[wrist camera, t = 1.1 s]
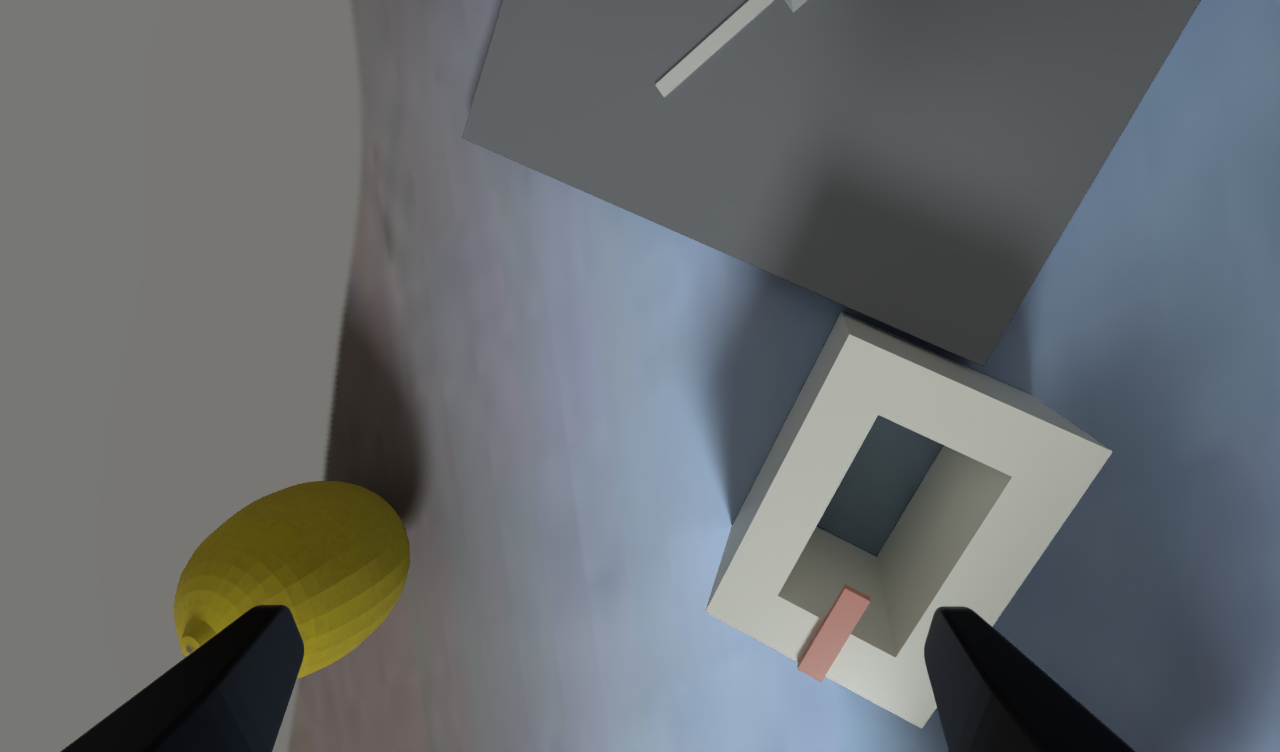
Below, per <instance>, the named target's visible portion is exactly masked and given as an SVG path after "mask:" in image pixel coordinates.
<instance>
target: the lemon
mask: <svg viewBox="0 0 1280 752" xmlns="http://www.w3.org/2000/svg"><path fill="white" fill-rule="evenodd" d="M409 565H410V551H409V541H408V537H407V533H406V529H405V527H404V525H403V523H402V521H401V519H400V517H399V515H398V514H397V513H396V512H395V510H394V509H393V508H392V507H391V505H390V504H389V503H387V502H386V501H385V500H384V499H383V498H381V497H380V496H379V495H377V494H376V493H374V492H372V491H370V490H368V489H366V488H364V487H362V486H359V485H354V484H350V483H346V482H341V481H318V482H308V483H303V484H298V485H295V486H291V487H288V488H285V489H283V490H280V491H277V492H275V493H272V494H270V495H267V496H265V497H262V498H261V499H258V500H257V501H254V502H253V503H251V504H249V505H248V506H246V507H244V508H243V509H241V510H240V511H239V512H237V513H236V514H234V515H233V516H232V517H231V518H230V519H228V520H227V521H226V522H225V523H223V524H222V525H221V526H220V527H219V528H217V530H215V531H214V532H213V533H212V534H210V535H209V536H208V537H207V538H206V539H205V540H204V541H203V542H202V543H201V544H200V546H199V547H198V548H197V549H196V550H195V552H194V553H193V555H192V557H191V559H190V560H189V562H188V564H187V565H186V567H185V569H184V570H183V572H182V574H181V577H180V580H179V583H178V587H177V591H176V595H175V602H174V619H175V625H176V630H177V634H178V637H179V639H180V646H181V650H182V652H183V653H184V655H185V656H186V657H187V656H188V655H190V654H191V653H192V652H194V651H195V650H196V649H198V648H199V647H200V646H202V645H203V644H204V643H206V642H207V641H208V640H210V639H211V638H212V637H214V636H215V635H216V634H218V633H219V632H220V631H221V630H223V629H224V628H225V627H227V626H228V625H229V624H231V623H232V622H233V621H235V620H236V619H237V618H239V617H240V616H241V615H243V614H244V613H245V612H247V611H248V610H250V609H251V608H253V607H255V606H258V605H285V606H286V607H288V608H289V609H290V611H291V613H292V615H293V618H294V620H295V622H296V625H297V627H298V630H299V632H300V635H301V637H302V640H303V643H304V657H303V661H302V665H301V668H300V670H299V673H298V676H297V679H298V678H301V677H303V676H306V675H308V674H310V673H313V672H315V671H317V670H320V669H322V668H324V667H326V666H328V665H330V664H332V663H333V662H335V661H337V660H339V659H340V658H342V657H343V656H345V655H346V654H348V653H349V652H351V651H352V650H353V649H354V648H356V647H357V646H358V645H359V644H360V643H361V642H363V641H364V640H365V639H366V638H367V637H368V636H369V635H370V634H371V633H372V632H373V631H374V630H376V629H377V628H378V627H379V625H380V624H381V623H382V622H383V621H384V620H385V619H386V617H387V616H388V615H389V613H390V612H391V610H392V608H393V607H394V605H395V603H396V601H397V600H398V598H399V596H400V594H401V593H402V590H403V588H404V586H405V583H406V578H407V574H408V569H409Z"/></svg>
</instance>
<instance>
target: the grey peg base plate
mask: <svg viewBox="0 0 1280 752" xmlns="http://www.w3.org/2000/svg"><path fill="white" fill-rule="evenodd" d="M1200 1H1201V0H503V3H502V6H501V9H500V13H499V16H498V19H497V23H496V26H495V29H494V33H493V36H492V39H491V43H490V46H489V49H488V53H487V56H486V59H485V63H484V66H483V69H482V73H481V76H480V79H479V83H478V86H477V89H476V93H475V96H474V99H473V103H472V106H471V109H470V113H469V116H468V119H467V122H466V126H465V129H464V132H463V136H462V138H463V139H465V140H468V141H470V142H472V143H475V144H477V145H479V146H481V147H484V148H486V149H488V150H491V151H493V152H495V153H497V154H500V155H502V156H504V157H507V158H509V159H511V160H513V161H516V162H518V163H520V164H523V165H525V166H527V167H529V168H532V169H534V170H536V171H538V172H541V173H543V174H545V175H548V176H550V177H552V178H554V179H557V180H559V181H561V182H564V183H566V184H568V185H570V186H573V187H575V188H577V189H580V190H582V191H584V192H586V193H589V194H591V195H593V196H596V197H598V198H600V199H602V200H605V201H607V202H609V203H612V204H614V205H616V206H618V207H621V208H623V209H625V210H628V211H630V212H632V213H634V214H637V215H639V216H641V217H643V218H646V219H648V220H650V221H653V222H655V223H657V224H659V225H662V226H664V227H666V228H669V229H671V230H673V231H675V232H678V233H680V234H682V235H685V236H687V237H689V238H691V239H694V240H696V241H698V242H701V243H703V244H705V245H707V246H710V247H712V248H714V249H717V250H719V251H721V252H723V253H726V254H728V255H730V256H733V257H735V258H737V259H739V260H742V261H744V262H746V263H748V264H751V265H753V266H755V267H758V268H760V269H762V270H764V271H767V272H769V273H771V274H774V275H776V276H778V277H780V278H783V279H785V280H787V281H790V282H792V283H794V284H796V285H799V286H801V287H803V288H806V289H808V290H810V291H812V292H815V293H817V294H819V295H822V296H824V297H826V298H828V299H831V300H833V301H835V302H838V303H840V304H842V305H844V306H847V307H849V308H851V309H853V310H856V311H858V312H860V313H863V314H865V315H867V316H869V317H872V318H874V319H876V320H879V321H881V322H883V323H885V324H888V325H890V326H892V327H895V328H897V329H899V330H901V331H904V332H906V333H908V334H911V335H913V336H915V337H917V338H920V339H922V340H924V341H927V342H929V343H931V344H933V345H936V346H938V347H940V348H943V349H945V350H947V351H949V352H952V353H954V354H956V355H958V356H961V357H963V358H965V359H968V360H970V361H972V362H974V363H977V364H979V365H981V366H984V364H985V363H986V361H987V359H988V358H989V356H990V354H991V352H992V351H993V349H994V347H995V346H996V344H997V342H998V341H999V339H1000V337H1001V336H1002V334H1003V332H1004V331H1005V329H1006V327H1007V326H1008V324H1009V322H1010V321H1011V319H1012V317H1013V315H1014V314H1015V312H1016V310H1017V309H1018V307H1019V305H1020V304H1021V302H1022V300H1023V299H1024V297H1025V295H1026V294H1027V292H1028V290H1029V289H1030V287H1031V285H1032V284H1033V282H1034V280H1035V278H1036V277H1037V275H1038V273H1039V272H1040V270H1041V268H1042V267H1043V265H1044V263H1045V262H1046V260H1047V258H1048V257H1049V255H1050V253H1051V252H1052V250H1053V248H1054V246H1055V245H1056V243H1057V241H1058V240H1059V238H1060V236H1061V235H1062V233H1063V231H1064V230H1065V228H1066V226H1067V225H1068V223H1069V221H1070V220H1071V218H1072V216H1073V215H1074V213H1075V211H1076V209H1077V208H1078V206H1079V204H1080V203H1081V201H1082V199H1083V198H1084V196H1085V194H1086V193H1087V191H1088V189H1089V188H1090V186H1091V184H1092V183H1093V181H1094V179H1095V178H1096V176H1097V174H1098V172H1099V171H1100V169H1101V167H1102V166H1103V164H1104V162H1105V161H1106V159H1107V157H1108V156H1109V154H1110V152H1111V151H1112V149H1113V147H1114V146H1115V144H1116V142H1117V140H1118V139H1119V137H1120V135H1121V134H1122V132H1123V130H1124V129H1125V127H1126V125H1127V124H1128V122H1129V120H1130V119H1131V117H1132V115H1133V114H1134V112H1135V110H1136V109H1137V107H1138V105H1139V103H1140V102H1141V100H1142V98H1143V97H1144V95H1145V93H1146V92H1147V90H1148V88H1149V87H1150V85H1151V83H1152V82H1153V80H1154V78H1155V77H1156V75H1157V73H1158V72H1159V70H1160V68H1161V66H1162V65H1163V63H1164V61H1165V60H1166V58H1167V56H1168V55H1169V53H1170V51H1171V50H1172V48H1173V46H1174V45H1175V43H1176V41H1177V40H1178V38H1179V36H1180V35H1181V33H1182V31H1183V29H1184V28H1185V26H1186V24H1187V23H1188V21H1189V19H1190V18H1191V16H1192V14H1193V13H1194V11H1195V9H1196V8H1197V6H1198V4H1199V3H1200Z"/></svg>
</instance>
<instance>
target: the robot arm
mask: <svg viewBox="0 0 1280 752" xmlns="http://www.w3.org/2000/svg"><path fill="white" fill-rule="evenodd" d="M303 657H304V643H303V640H302V637H301V635H300V632H299V630H298V627H297V625H296V622H295V620H294V618H293V615H292V613H291V611H290V609H289V608H288V607H286V606H285V605H258V606H255V607H253V608H251V609H250V610H248V611H247V612H245V613H244V614H243V615H241V616H240V617H239V618H237V619H236V620H235V621H233V622H232V623H231V624H229V625H228V626H227V627H225V628H224V629H223V630H221V631H220V632H219V633H218V634H216V635H215V636H214V637H212V638H211V639H210V640H208V641H207V642H206V643H204V644H203V645H202V646H200V647H199V648H198V649H196V650H195V651H194V652H192V653H191V654H190V655H188V656H187V657H186V658H184V659H183V660H182V661H180V662H179V663H178V664H176V665H175V666H174V667H172V668H171V669H170V670H168V671H167V672H166V673H164V674H163V675H162V676H160V677H159V678H158V679H156V680H155V681H154V682H152V683H151V684H150V685H148V686H147V687H146V688H144V689H143V690H142V691H141V692H139V693H138V694H136V695H135V696H134V697H132V698H131V699H130V700H129V701H127V702H126V703H125V704H123V705H122V706H120V707H119V708H118V709H116V710H115V711H114V712H112V713H111V714H110V715H109V716H107V717H106V718H105V719H103V720H102V721H101V722H99V723H98V724H97V725H95V726H94V727H93V728H91V729H90V730H89V731H87V732H86V733H85V734H83V735H82V736H81V737H79V738H78V739H77V740H75V741H74V742H73V743H71V744H70V745H69V746H67V747H66V748H65V749H63V750H62V751H61V752H272V750H273V747H274V744H275V741H276V738H277V735H278V732H279V729H280V726H281V724H282V721H283V718H284V714H285V712H286V709H287V706H288V703H289V700H290V697H291V694H292V691H293V688H294V685H295V682H296V679H297V676H298V673H299V670H300V668H301V665H302V661H303ZM924 659H925V664H926V668H927V672H928V676H929V679H930V683H931V687H932V691H933V694H934V698H935V702H936V705H937V709H938V713H939V717H940V720H941V724H942V728H943V732H944V735H945V739H946V743H947V746H948V750H949V752H1136V751H1134V750H1133V749H1132V748H1131V747H1130V746H1129V745H1127V744H1126V743H1125V742H1124V741H1123V740H1122V739H1121V738H1119V737H1118V736H1117V735H1116V734H1115V733H1114V732H1113V731H1111V730H1110V729H1109V728H1108V727H1107V726H1106V725H1104V724H1103V723H1102V722H1101V721H1100V720H1099V719H1098V718H1096V717H1095V716H1094V715H1093V714H1092V713H1091V712H1090V711H1088V710H1087V709H1086V708H1085V707H1084V706H1083V705H1082V704H1080V703H1079V702H1078V701H1077V700H1076V699H1075V698H1073V697H1072V696H1071V695H1070V694H1069V693H1068V692H1067V691H1065V690H1064V689H1063V688H1062V687H1061V686H1060V685H1059V684H1057V683H1056V682H1055V681H1054V680H1053V679H1052V678H1050V677H1049V676H1048V675H1047V674H1046V673H1045V672H1044V671H1042V670H1041V669H1040V668H1039V667H1038V666H1037V665H1036V664H1034V663H1033V662H1032V661H1031V660H1030V659H1029V658H1028V657H1026V656H1025V655H1024V654H1023V653H1022V652H1021V651H1019V650H1018V649H1017V648H1016V647H1015V646H1014V645H1013V644H1011V643H1010V642H1009V641H1008V640H1007V639H1006V638H1005V637H1003V636H1002V635H1001V634H1000V633H999V632H998V631H996V630H995V629H994V628H993V627H992V626H991V625H990V624H988V623H987V622H986V621H985V620H984V619H983V618H982V617H980V616H979V615H978V614H977V613H976V612H975V611H973V610H972V609H970V608H968V607H962V606H942V607H939V608H937V609H936V610H935V612H934V615H933V618H932V621H931V625H930V628H929V631H928V635H927V638H926V641H925V645H924Z"/></svg>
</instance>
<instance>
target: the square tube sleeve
mask: <svg viewBox="0 0 1280 752" xmlns="http://www.w3.org/2000/svg"><path fill="white" fill-rule="evenodd" d="M878 415H880V416H882V417H884V418H886V419H888V420H890V421H893V422H895V423H897V424H899V425H901V426H903V427H906V428H908V429H910V430H912V431H914V432H916V433H919V434H921V435H923V436H925V437H927V438H929V439H931V440H934V441H936V442H938V443H940V444H942V445H943V447H942V449H941V450H940V452H939V454H938V455H937V457H936V459H935V460H934V462H933V464H932V465H931V467H930V469H929V470H928V472H927V474H926V475H925V477H924V479H923V480H922V482H921V484H920V485H919V487H918V489H917V490H916V492H915V494H914V495H913V497H912V499H911V500H910V502H909V504H908V505H907V507H906V509H905V510H904V512H903V514H902V516H901V517H900V519H899V521H898V522H897V524H896V526H895V527H894V529H893V531H892V532H891V534H890V536H889V537H888V539H887V541H886V542H885V544H884V546H883V547H882V549H881V551H880V552H879V554H878V556H877V557H876V556H874V555H872V554H870V553H868V552H866V551H864V550H862V549H860V548H858V547H856V546H854V545H852V544H850V543H848V542H846V541H844V540H842V539H840V538H838V537H836V536H834V535H832V534H830V533H828V532H826V531H824V530H822V529H820V528H818V527H816V526H817V524H818V522H819V521H820V519H821V517H822V515H823V513H824V512H825V510H826V508H827V506H828V504H829V503H830V501H831V499H832V497H833V495H834V494H835V492H836V490H837V488H838V486H839V485H840V483H841V481H842V479H843V477H844V476H845V474H846V472H847V470H848V468H849V467H850V465H851V463H852V461H853V459H854V458H855V456H856V454H857V452H858V450H859V449H860V447H861V445H862V443H863V441H864V440H865V438H866V436H867V434H868V432H869V431H870V429H871V427H872V425H873V423H874V422H875V420H876V418H877V416H878ZM1112 452H1113V451H1111V450H1110V449H1109V448H1107V447H1106V446H1104V445H1103V444H1101V443H1100V442H1098V441H1097V440H1096V439H1094V438H1093V437H1091V436H1090V435H1088V434H1087V433H1086V432H1084V431H1083V430H1081V429H1080V428H1078V427H1077V426H1075V425H1074V424H1073V423H1071V422H1070V421H1068V420H1067V419H1065V418H1064V417H1062V416H1061V415H1060V414H1058V413H1057V412H1055V411H1054V410H1052V409H1051V408H1050V407H1048V406H1047V405H1045V404H1044V403H1042V402H1041V401H1039V400H1038V399H1037V398H1035V397H1034V396H1032V395H1030V394H1028V393H1025V392H1023V391H1021V390H1018V389H1016V388H1014V387H1012V386H1009V385H1007V384H1005V383H1003V382H1000V381H998V380H996V379H993V378H991V377H989V376H987V375H984V374H982V373H980V372H978V371H975V370H973V369H971V368H968V367H966V366H964V365H962V364H959V363H957V362H955V361H953V360H950V359H948V358H946V357H943V356H941V355H939V354H937V353H934V352H932V351H930V350H928V349H925V348H923V347H921V346H918V345H916V344H914V343H912V342H909V341H907V340H905V339H903V338H900V337H898V336H896V335H893V334H891V333H889V332H887V331H884V330H882V329H880V328H878V327H875V326H873V325H871V324H868V323H866V322H864V321H862V320H859V319H857V318H855V317H853V316H850V315H848V314H846V313H843V312H841V313H840V315H839V317H838V319H837V321H836V323H835V325H834V327H833V329H832V331H831V333H830V335H829V337H828V339H827V341H826V343H825V345H824V347H823V349H822V351H821V352H820V354H819V356H818V358H817V360H816V362H815V364H814V366H813V368H812V370H811V372H810V374H809V376H808V378H807V380H806V382H805V384H804V386H803V388H802V390H801V392H800V394H799V396H798V398H797V400H796V402H795V403H794V405H793V407H792V409H791V411H790V413H789V415H788V417H787V419H786V421H785V423H784V425H783V427H782V429H781V431H780V433H779V435H778V437H777V439H776V441H775V443H774V445H773V447H772V449H771V451H770V453H769V454H768V456H767V458H766V460H765V462H764V464H763V466H762V468H761V470H760V472H759V474H758V476H757V478H756V480H755V482H754V484H753V486H752V488H751V490H750V492H749V494H748V496H747V498H746V500H745V502H744V504H743V505H742V507H741V509H740V511H739V513H738V515H737V517H736V519H735V521H734V523H733V525H732V527H731V530H730V534H729V537H728V540H727V543H726V546H725V550H724V553H723V556H722V559H721V563H720V566H719V569H718V572H717V575H716V579H715V582H714V585H713V588H712V592H711V595H710V598H709V601H708V604H707V608H706V611H705V612H706V613H708V614H710V615H712V616H714V617H716V618H718V619H719V620H721V621H723V622H725V623H727V624H729V625H731V626H732V627H734V628H736V629H738V630H740V631H742V632H743V633H745V634H747V635H749V636H751V637H753V638H755V639H756V640H758V641H760V642H762V643H764V644H766V645H768V646H769V647H771V648H773V649H775V650H777V651H779V652H780V653H782V654H784V655H786V656H788V657H790V658H792V659H793V660H795V661H797V662H799V663H798V668H797V669H798V670H800V671H802V672H804V673H805V674H807V675H809V676H811V677H813V678H815V679H816V680H818V681H820V682H822V680H823V679H824V677H827V678H829V679H830V680H832V681H834V682H836V683H838V684H840V685H842V686H843V687H845V688H847V689H849V690H851V691H853V692H854V693H856V694H858V695H860V696H862V697H864V698H866V699H867V700H869V701H871V702H873V703H875V704H877V705H879V706H880V707H882V708H884V709H886V710H888V711H890V712H891V713H893V714H895V715H897V716H899V717H901V718H903V719H904V720H906V721H908V722H910V723H912V724H914V725H916V726H917V727H919V728H921V729H922V728H923V727H924V725H925V724H926V722H927V721H928V720H929V718H930V717H931V715H932V714H933V712H934V711H935V709H936V708H937V705H936V702H935V698H934V694H933V691H932V687H931V683H930V679H929V676H928V672H927V668H926V664H925V659H924V645H925V641H926V638H927V635H928V631H929V628H930V625H931V621H932V618H933V615H934V612H935V610H936V609H937V608H939V607H942V606H962V607H968V608H970V609H972V610H973V611H975V612H976V613H977V614H978V615H979V616H980V617H982V618H983V619H984V620H985V621H986V622H987V623H988V624H990V625H991V626H992V627H993V625H994V624H995V622H996V621H997V619H998V618H999V616H1000V615H1001V613H1002V612H1003V611H1004V609H1005V608H1006V606H1007V605H1008V603H1009V602H1010V600H1011V599H1012V598H1013V596H1014V595H1015V593H1016V592H1017V590H1018V589H1019V587H1020V586H1021V584H1022V583H1023V582H1024V580H1025V579H1026V577H1027V576H1028V574H1029V573H1030V571H1031V570H1032V568H1033V567H1034V566H1035V564H1036V563H1037V561H1038V560H1039V558H1040V557H1041V555H1042V554H1043V552H1044V551H1045V550H1046V548H1047V547H1048V545H1049V544H1050V542H1051V541H1052V539H1053V538H1054V536H1055V535H1056V534H1057V532H1058V531H1059V529H1060V528H1061V526H1062V525H1063V523H1064V522H1065V520H1066V519H1067V518H1068V516H1069V515H1070V513H1071V512H1072V510H1073V509H1074V507H1075V506H1076V505H1077V503H1078V502H1079V500H1080V499H1081V497H1082V496H1083V494H1084V493H1085V491H1086V490H1087V489H1088V487H1089V486H1090V484H1091V483H1092V481H1093V480H1094V478H1095V477H1096V475H1097V474H1098V473H1099V471H1100V470H1101V468H1102V467H1103V465H1104V464H1105V462H1106V461H1107V459H1108V458H1109V457H1110V455H1111V454H1112Z"/></svg>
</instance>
